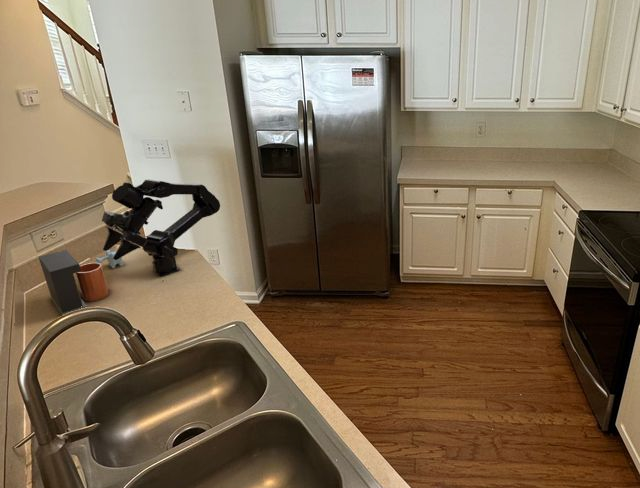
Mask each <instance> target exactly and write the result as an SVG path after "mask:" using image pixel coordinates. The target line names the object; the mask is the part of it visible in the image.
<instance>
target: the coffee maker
mask: <svg viewBox="0 0 640 488" xmlns="http://www.w3.org/2000/svg"><path fill="white" fill-rule="evenodd" d="M38 261H39V263H40V266H41V269H42V273H43V277H44V280H45V282H46V285H47V288H48V291H49V295H50V297H51V300H52V301H53V303H54V305H55V306H56V308H57V309H58V310H59V312H60V314H61V315H62V316H63V314H66V313H68V312H71V311H75V310H78V309H81V308H85V307H87V308H88V305H87V304H86V303H85V302H86V301H85V300H84V299H83V298H81V297H82V296H81V295H80V292H79V289H78V285H77V282H76V281H77V280H76V278H75V274H76V273H77V272H80V271H81V268H80V266H81V265H80V263H79V261H78V260H77V259H75V258H74V256H73V255H72V254H71V253H70V252H69V250H67V249H63V250H60V251H59V250H58V251H55V252H52V253H48V254H43V255H39V256H38ZM81 306H82V307H81Z"/></svg>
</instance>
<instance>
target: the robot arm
mask: <svg viewBox="0 0 640 488" xmlns="http://www.w3.org/2000/svg"><path fill="white" fill-rule="evenodd" d="M173 195H191V198H192V201H193V205H192V208H191V209H190V210H189V211H188V212H186V213H185V214H184V215H183V216H181V217H180V218H179V219H178V220H176V221H175V222H174V223H171V225H170V226H168V227H167V228H166V229H165V230H157V229H155V230H152V232H151V233H150V234H148V235H145V237H144V236H143V235H141V232H140V231H141V229H142V228H143V227H144V226H147V225H148V224H149V223H150V222H149V221H148V220H149V219H150V217H151V216H152V215H153V213H154V212H155V211H156V209H157V208H158V209H159V210H164V207H163V201H162V200H160V199H164V198H169V197H170V196H173ZM144 196H146V197H144ZM154 198H157V199H154ZM111 199H112V200H113V201H114V202H116V203H118V204H119V205H121V206H124V207H126V208H127V209H129V210H126V211H124V212H123V213H119V212H113V211H106V210H105V211H103V214H102V218H101V222H103V223H104V224H105V225H106V226H105V228H106V230H107V236H106V240H105V242H104V245H103V248H102V250H103V251H104V252H106V251H107V250H110V249H112V248H113V247H114V246H115V245H117V244H118V243H119V242H120V244H119V246H118V248H117V250H116V251H117V252H116V253H115V255H114V257H113V259H115V260H117V259H119V258H121V257H122V258H123V257H124V256H126V255H129V254H130V253H132V252H134V251H136V250H137V249H140V248H142V250H143V251H144V253H146V254H147V255H148V256H149V257H152V261H151V265H152V271H153V272H154V273H155V274H156V275H158V276H159V277H164V276H167V275H170V274H174V273H176V272H179V271H180V268H179V267H178V266H177V259H176V256H177V255H179V248H177V247H176V246H175V242H176V240H177V239H179V238H180V237H182V235H184V234H185V233H187V232H188V231H189V230H190V229H191V228H192V227H194V225H196V224H197V223H198V222H199V221H201V220H202V219H204V218H207V217H211V216H213V215H214V214H217V213H218V212H219V211H220V209H221V203H220V200H219V199H218V198H217V197H216V195H214V194H213V193H212V192H211V191H210V190H208V188H207V187H206V186H205V185H204V184H201V183H196V182H195V183H171V182H167V181H162V180H157V179H151V178H147V179H145V180H144V181H143V182H142V183H141V184H138V185H136V186H135V185H133V183H130V182H123V183H122V185H119V186H118V187H117V188H115V189H114V190H113V192H112V194H111Z"/></svg>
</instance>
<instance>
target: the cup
mask: <svg viewBox="0 0 640 488" xmlns="http://www.w3.org/2000/svg"><path fill="white" fill-rule="evenodd" d="M80 268H81V271H80V272H77V273H75V276H76V281H77V284H78V287H79V290H80V294H81V297H82V300H83V301H84V302H93V301H97V300H101V299H103V298H105V297H106V296H108V295H109V288H108V284H107V280H106V277H105V272H104V269H103V265H102V263H101V264H100V263H97V262H89V263H85V264H81V265H80Z"/></svg>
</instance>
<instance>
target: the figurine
mask: <svg viewBox="0 0 640 488" xmlns="http://www.w3.org/2000/svg"><path fill="white" fill-rule="evenodd" d="M104 252H105V254H106V256H102V257H98V256H97V257H95V261H96V263H100V264H101V265H102V262H103V261H105V260H107V262H108V266H109V267H111V268H112V269H115V268H116V265H119V266H120V267H123V266H124V261H123V257H121V258H119V259H117V260H115V259H113V257H114V255H115V253H116V252H117V250H115V251H111V250H110V249H109V250H107V251H104Z"/></svg>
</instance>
